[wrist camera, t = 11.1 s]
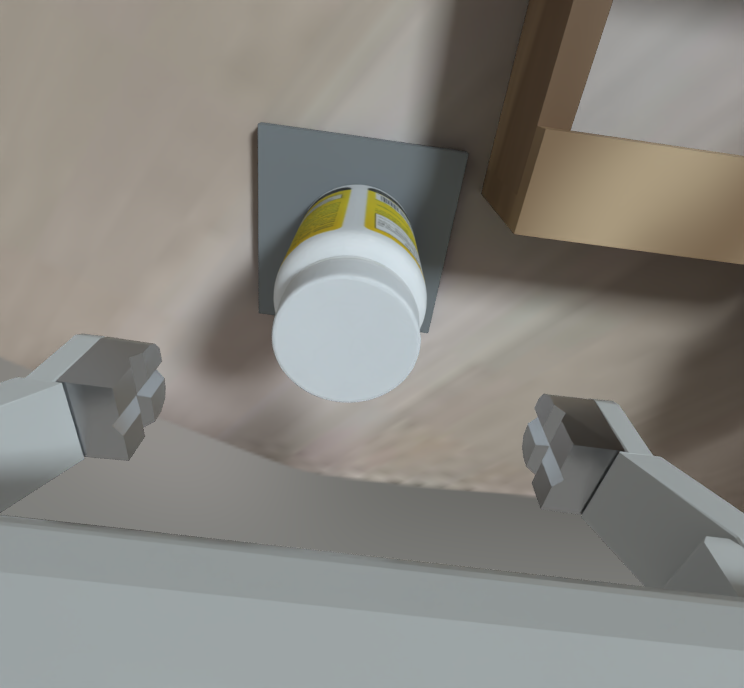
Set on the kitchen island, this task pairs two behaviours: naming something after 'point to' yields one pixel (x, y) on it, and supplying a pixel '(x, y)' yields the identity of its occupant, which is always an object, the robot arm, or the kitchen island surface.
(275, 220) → the slate pad
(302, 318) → the supplement bottle
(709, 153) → the crate
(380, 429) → the kitchen island surface
